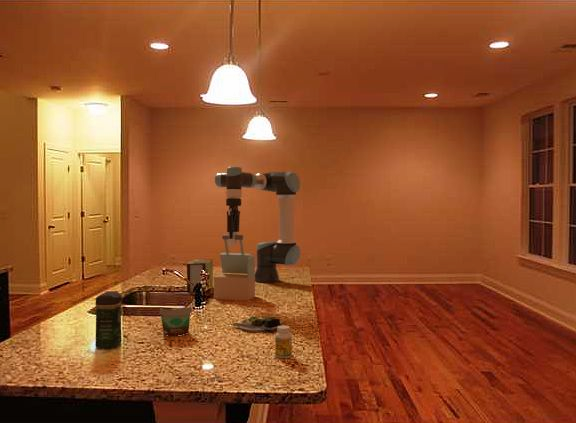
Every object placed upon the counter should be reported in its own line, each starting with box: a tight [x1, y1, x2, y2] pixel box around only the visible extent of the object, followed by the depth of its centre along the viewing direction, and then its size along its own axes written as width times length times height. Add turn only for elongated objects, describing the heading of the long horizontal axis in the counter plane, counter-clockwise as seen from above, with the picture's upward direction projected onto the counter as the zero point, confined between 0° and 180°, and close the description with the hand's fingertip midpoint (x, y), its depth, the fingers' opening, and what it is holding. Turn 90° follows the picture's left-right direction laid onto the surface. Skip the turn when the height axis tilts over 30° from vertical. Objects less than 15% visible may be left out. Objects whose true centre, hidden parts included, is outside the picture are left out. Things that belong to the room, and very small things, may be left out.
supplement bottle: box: [274, 325, 293, 359], centre depth 162 cm, size 5×5×10 cm
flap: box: [219, 233, 252, 274], centre depth 253 cm, size 22×16×2 cm
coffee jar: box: [94, 290, 123, 350], centre depth 173 cm, size 10×8×19 cm
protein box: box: [186, 259, 214, 293], centre depth 272 cm, size 10×15×16 cm
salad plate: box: [232, 316, 283, 333], centre depth 198 cm, size 19×18×5 cm
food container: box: [158, 304, 193, 337], centre depth 186 cm, size 12×6×10 cm, turn 117°
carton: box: [213, 254, 256, 302], centre depth 252 cm, size 10×18×21 cm, turn 76°
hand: (233, 245), depth 249 cm, fingers open, 3 cm apart
